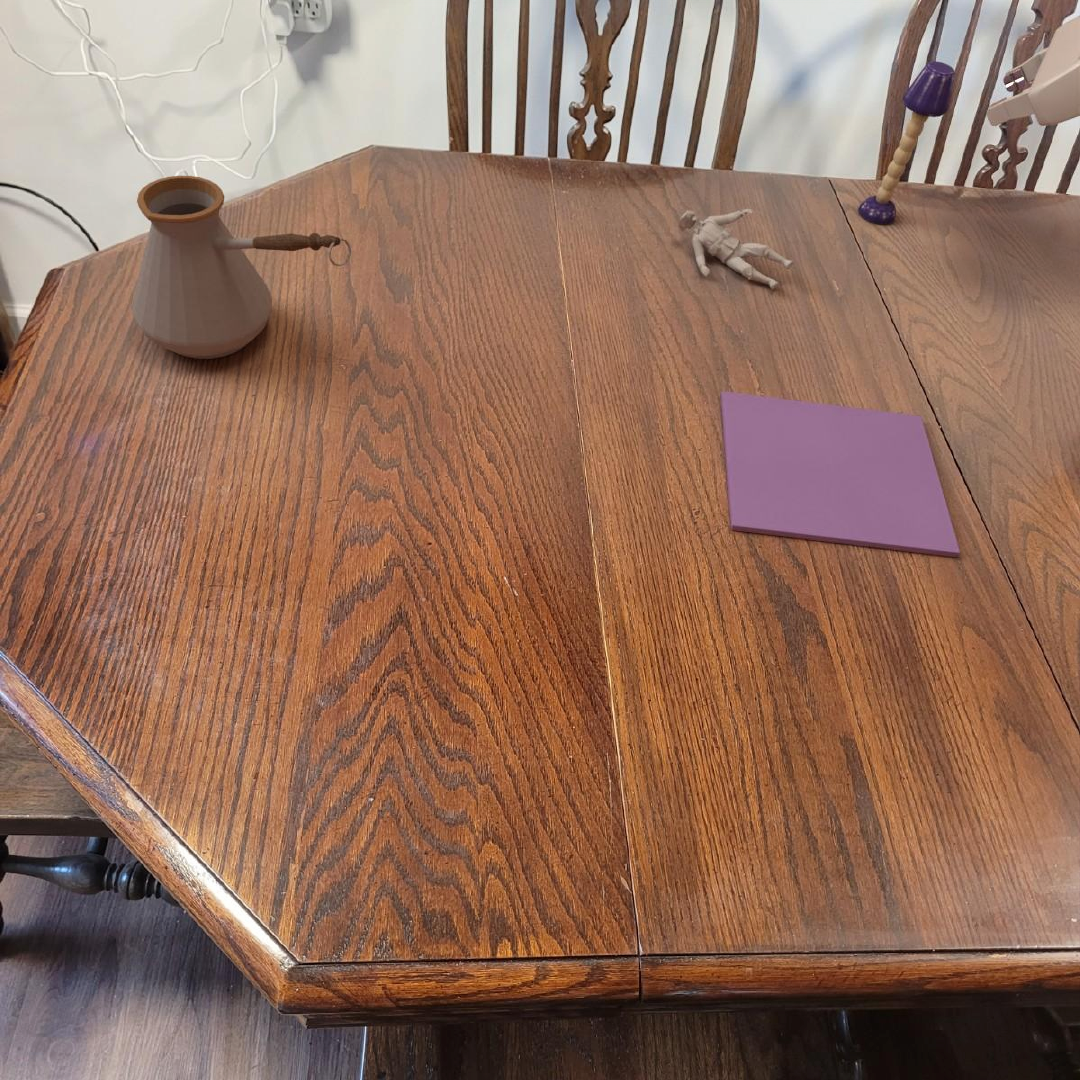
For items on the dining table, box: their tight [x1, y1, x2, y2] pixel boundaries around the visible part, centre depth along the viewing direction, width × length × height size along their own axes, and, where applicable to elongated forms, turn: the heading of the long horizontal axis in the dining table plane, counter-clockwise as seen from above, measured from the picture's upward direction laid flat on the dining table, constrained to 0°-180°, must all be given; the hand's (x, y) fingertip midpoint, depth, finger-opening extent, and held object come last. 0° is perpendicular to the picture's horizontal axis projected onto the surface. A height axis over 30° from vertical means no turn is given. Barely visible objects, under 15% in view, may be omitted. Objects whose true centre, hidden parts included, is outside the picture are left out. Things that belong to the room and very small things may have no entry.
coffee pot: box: [131, 175, 352, 360], centre depth 76 cm, size 21×12×15 cm, turn 61°
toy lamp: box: [858, 61, 956, 226], centre depth 101 cm, size 5×5×17 cm
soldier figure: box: [678, 208, 795, 290], centre depth 96 cm, size 8×5×12 cm
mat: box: [720, 390, 961, 558], centre depth 78 cm, size 18×16×1 cm
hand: (998, 99), depth 95 cm, fingers open, 8 cm apart
